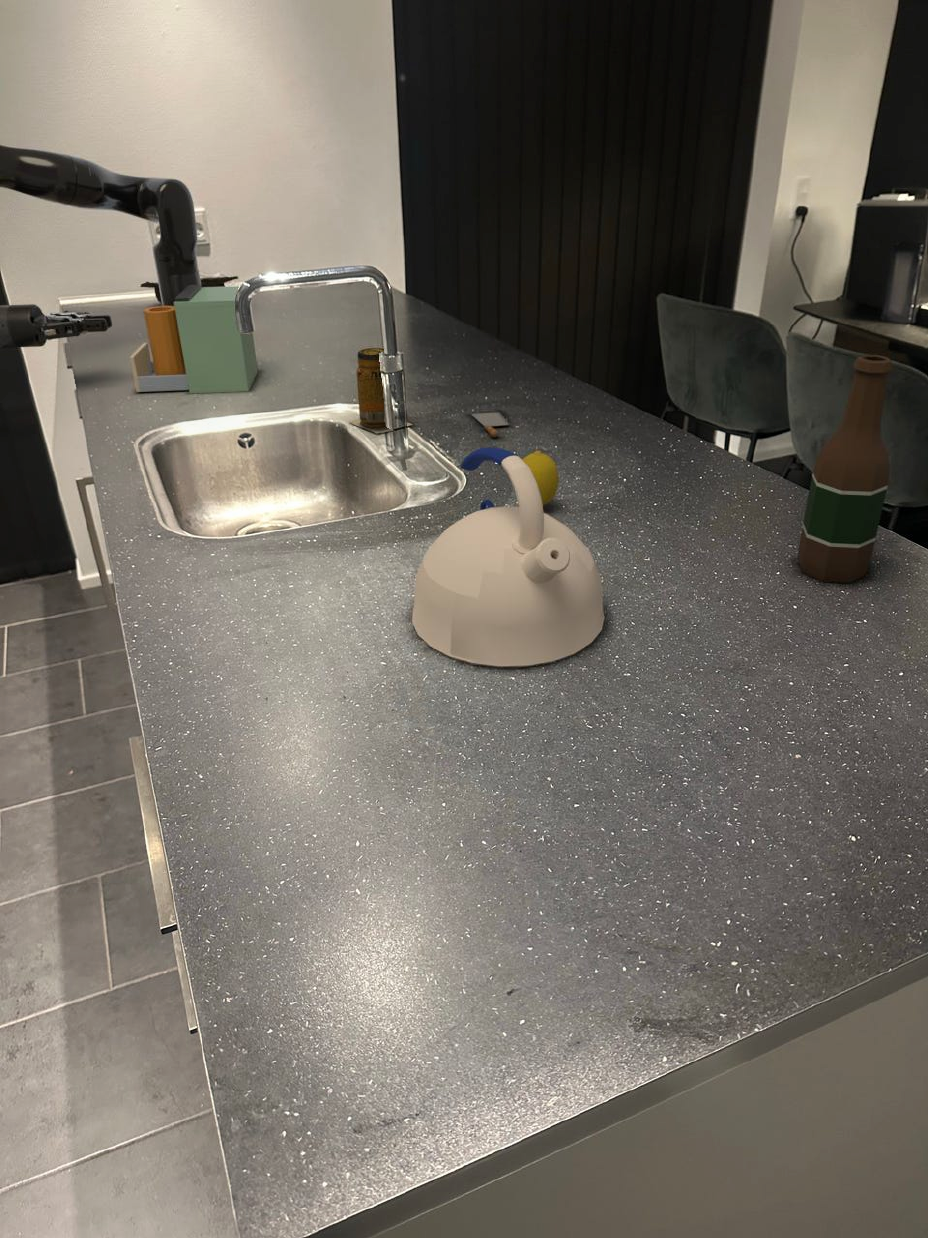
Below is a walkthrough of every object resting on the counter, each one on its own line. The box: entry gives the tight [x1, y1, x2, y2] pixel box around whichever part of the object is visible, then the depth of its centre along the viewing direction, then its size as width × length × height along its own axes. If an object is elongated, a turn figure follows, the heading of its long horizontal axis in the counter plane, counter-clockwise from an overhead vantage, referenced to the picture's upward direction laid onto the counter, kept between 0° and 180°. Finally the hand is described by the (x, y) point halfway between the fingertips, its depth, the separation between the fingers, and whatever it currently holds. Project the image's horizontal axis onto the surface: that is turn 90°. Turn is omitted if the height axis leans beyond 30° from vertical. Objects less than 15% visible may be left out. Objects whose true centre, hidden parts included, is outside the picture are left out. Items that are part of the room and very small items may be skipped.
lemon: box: [522, 450, 559, 506], centre depth 118 cm, size 6×6×8 cm
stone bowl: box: [140, 275, 239, 304], centre depth 235 cm, size 25×25×9 cm
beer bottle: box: [797, 354, 894, 584], centre depth 97 cm, size 8×8×24 cm
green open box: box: [174, 285, 259, 394], centre depth 171 cm, size 14×11×17 cm
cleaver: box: [470, 411, 510, 439], centre depth 150 cm, size 13×1×5 cm
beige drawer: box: [129, 342, 189, 393], centre depth 173 cm, size 11×11×6 cm
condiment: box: [349, 347, 413, 434], centre depth 148 cm, size 7×8×12 cm
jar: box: [143, 305, 186, 376], centre depth 171 cm, size 6×6×13 cm
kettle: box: [411, 446, 605, 668], centre depth 91 cm, size 20×21×18 cm
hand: (108, 322), depth 169 cm, fingers closed
